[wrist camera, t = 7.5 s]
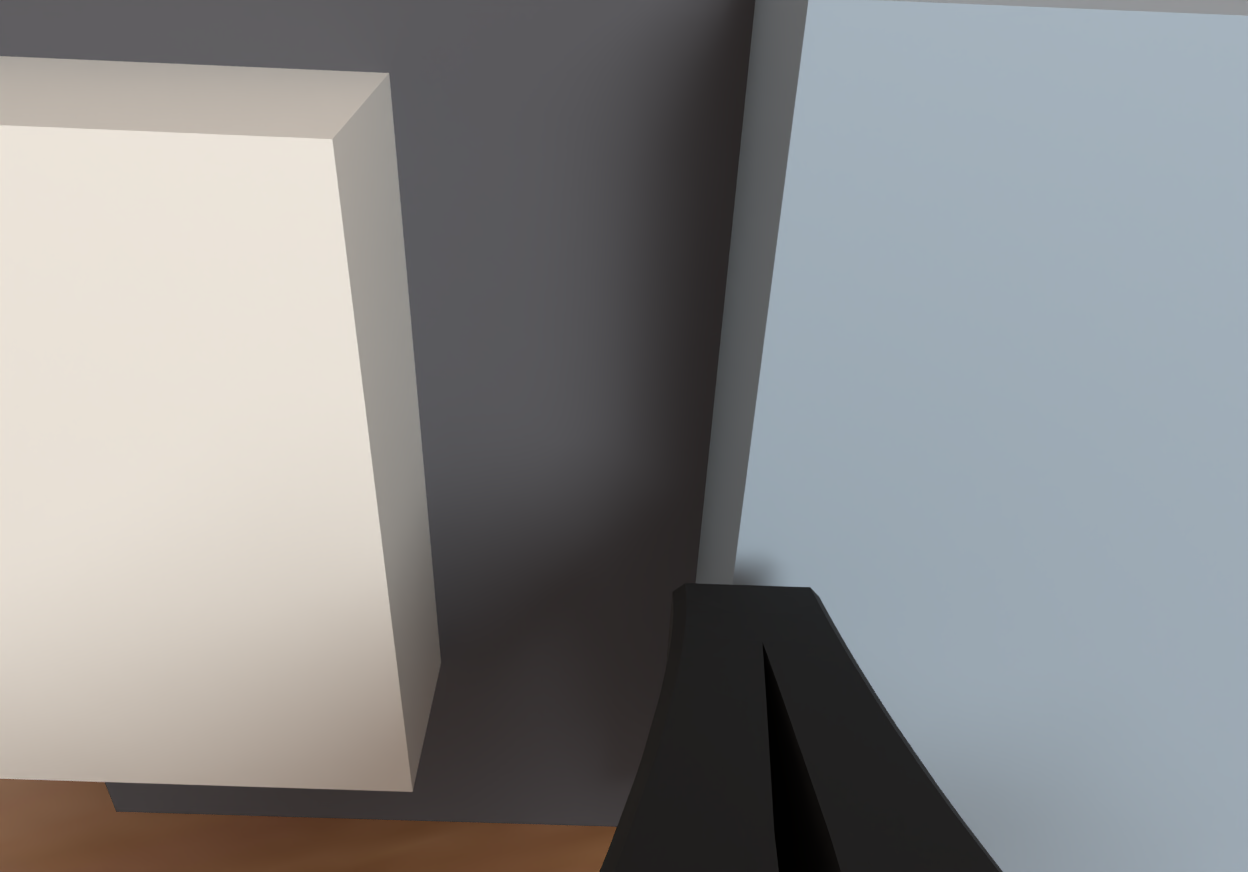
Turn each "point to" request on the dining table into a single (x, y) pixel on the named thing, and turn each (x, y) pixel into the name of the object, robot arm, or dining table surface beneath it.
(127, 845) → the dining table surface
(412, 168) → the mat
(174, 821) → the dining table surface
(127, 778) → the cream tapered slab
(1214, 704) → the deck
